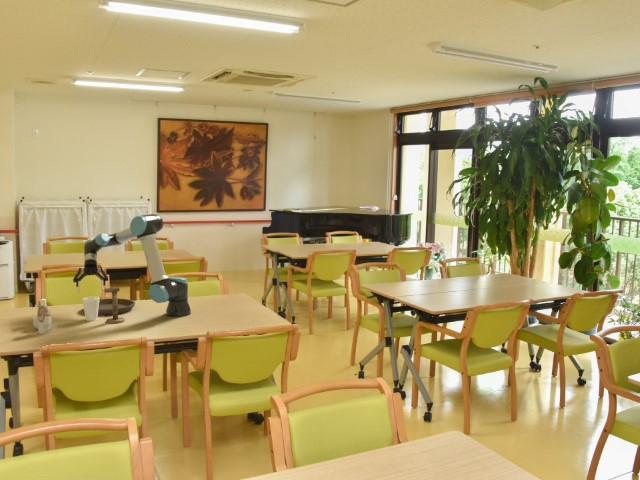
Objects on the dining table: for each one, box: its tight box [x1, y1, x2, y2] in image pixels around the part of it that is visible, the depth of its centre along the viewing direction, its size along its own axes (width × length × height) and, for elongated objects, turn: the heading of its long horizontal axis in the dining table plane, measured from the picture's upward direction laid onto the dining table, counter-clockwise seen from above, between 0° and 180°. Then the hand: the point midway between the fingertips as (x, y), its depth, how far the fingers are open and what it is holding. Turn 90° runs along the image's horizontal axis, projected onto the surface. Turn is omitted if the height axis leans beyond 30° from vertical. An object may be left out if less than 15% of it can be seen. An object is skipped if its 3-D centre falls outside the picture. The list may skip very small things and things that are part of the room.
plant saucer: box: [98, 297, 136, 316], centre depth 374 cm, size 31×31×5 cm
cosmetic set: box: [32, 298, 52, 335], centre depth 330 cm, size 25×9×19 cm, turn 32°
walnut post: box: [103, 286, 125, 325], centre depth 347 cm, size 10×10×20 cm
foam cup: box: [81, 296, 100, 322], centre depth 350 cm, size 10×9×13 cm
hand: (90, 290), depth 359 cm, fingers open, 13 cm apart
